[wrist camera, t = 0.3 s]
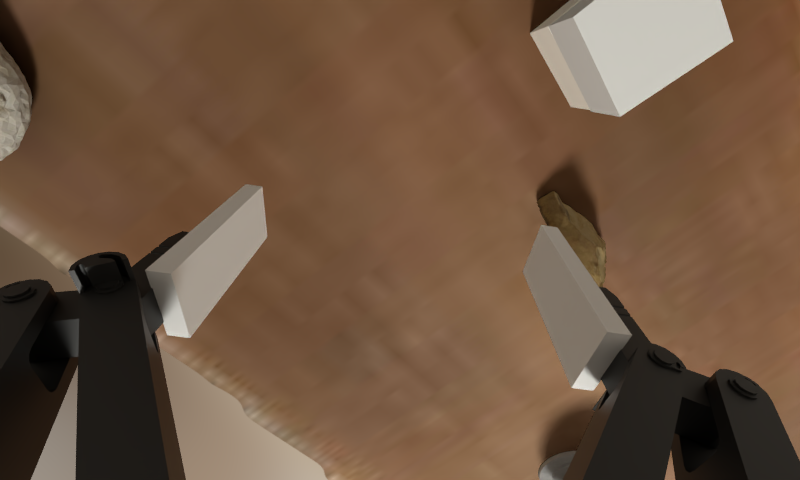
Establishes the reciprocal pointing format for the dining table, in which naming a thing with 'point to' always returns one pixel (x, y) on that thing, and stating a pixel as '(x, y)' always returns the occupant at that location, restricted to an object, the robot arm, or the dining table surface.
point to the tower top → (636, 46)
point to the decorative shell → (12, 104)
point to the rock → (576, 234)
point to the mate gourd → (556, 466)
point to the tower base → (558, 58)
